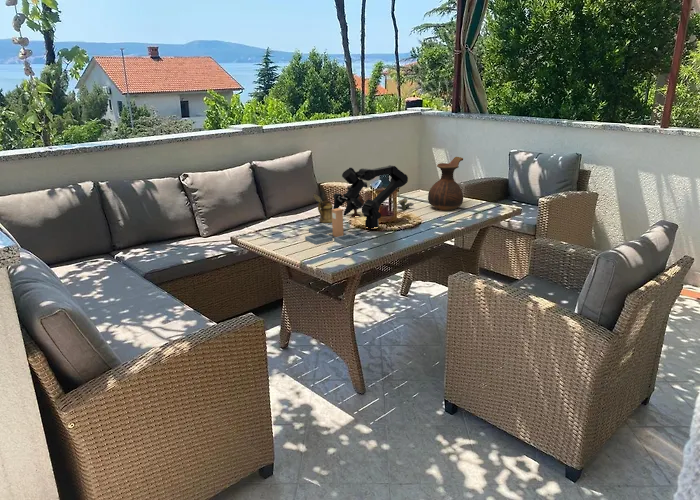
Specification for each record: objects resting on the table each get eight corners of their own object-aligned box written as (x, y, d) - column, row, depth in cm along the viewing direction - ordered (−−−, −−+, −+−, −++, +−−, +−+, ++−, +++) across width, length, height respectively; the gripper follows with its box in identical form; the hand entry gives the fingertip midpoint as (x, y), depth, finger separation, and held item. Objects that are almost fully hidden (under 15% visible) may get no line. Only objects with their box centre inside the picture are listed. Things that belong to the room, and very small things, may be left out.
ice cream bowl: (352, 219, 321) (351, 194, 317) (343, 215, 331) (342, 190, 326) (368, 216, 326) (367, 191, 321) (359, 213, 336) (358, 188, 331)
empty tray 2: (350, 238, 285) (349, 233, 285) (362, 242, 278) (362, 237, 277) (334, 242, 280) (334, 237, 279) (346, 246, 272) (345, 242, 271)
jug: (466, 212, 330) (468, 161, 320) (430, 213, 330) (431, 162, 321) (460, 203, 350) (461, 155, 341) (426, 204, 351) (426, 156, 341)
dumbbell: (380, 216, 333) (378, 199, 333) (407, 213, 346) (405, 197, 346) (389, 214, 326) (388, 197, 326) (417, 212, 339) (415, 196, 339)
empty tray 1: (324, 229, 303) (323, 224, 303) (334, 233, 296) (334, 228, 295) (308, 232, 298) (308, 228, 297) (319, 236, 290) (318, 232, 289)
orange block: (339, 234, 291) (338, 208, 287) (343, 235, 288) (342, 209, 284) (332, 235, 289) (331, 209, 285) (337, 237, 286) (336, 210, 282)
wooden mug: (310, 223, 317) (308, 192, 311) (327, 218, 326) (326, 188, 320) (320, 225, 311) (319, 194, 305) (338, 221, 319) (337, 190, 314)
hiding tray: (321, 237, 289) (321, 232, 288) (332, 241, 281) (332, 236, 281) (305, 241, 283) (305, 236, 283) (316, 245, 276) (316, 240, 275)
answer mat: (340, 233, 295) (340, 232, 295) (350, 236, 288) (350, 235, 288) (326, 236, 290) (326, 235, 290) (336, 240, 283) (336, 239, 283)
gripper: (375, 201, 286) (358, 225, 284) (353, 195, 301) (337, 219, 298) (362, 188, 280) (346, 213, 277) (341, 183, 294) (324, 207, 291)
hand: (338, 213), depth 286 cm, fingers open, 9 cm apart
